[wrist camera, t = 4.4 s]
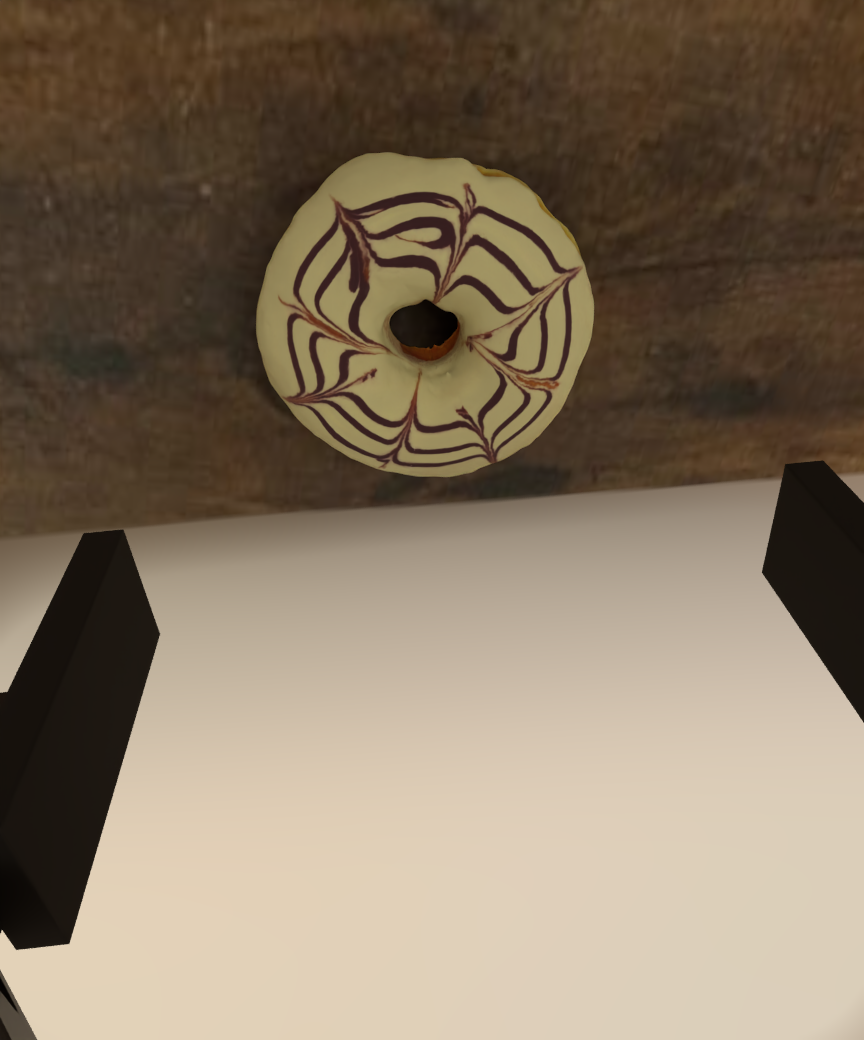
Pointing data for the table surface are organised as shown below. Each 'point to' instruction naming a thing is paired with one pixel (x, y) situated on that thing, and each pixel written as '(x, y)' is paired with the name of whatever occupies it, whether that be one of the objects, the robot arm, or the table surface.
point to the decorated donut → (408, 281)
